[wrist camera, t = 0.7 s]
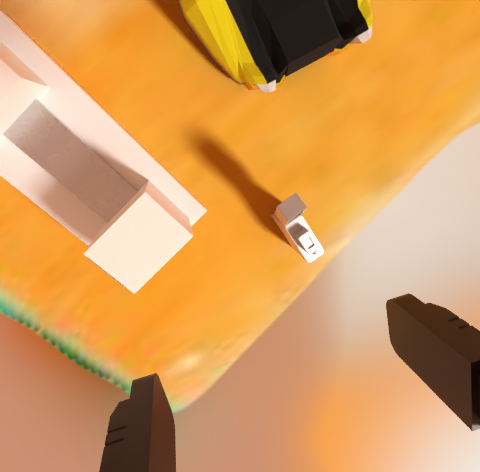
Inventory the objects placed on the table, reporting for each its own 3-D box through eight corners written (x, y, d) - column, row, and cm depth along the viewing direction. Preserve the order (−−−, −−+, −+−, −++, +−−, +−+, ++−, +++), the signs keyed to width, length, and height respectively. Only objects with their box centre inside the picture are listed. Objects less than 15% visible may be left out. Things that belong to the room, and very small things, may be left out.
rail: (-21, 45, 25) (-26, 43, 24) (180, 229, 32) (180, 231, 31) (-55, 82, 25) (-61, 81, 25) (152, 257, 32) (151, 260, 31)
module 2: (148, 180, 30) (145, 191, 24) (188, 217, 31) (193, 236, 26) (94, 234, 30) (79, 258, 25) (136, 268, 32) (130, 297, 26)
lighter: (307, 237, 35) (345, 268, 28) (292, 248, 35) (326, 281, 28) (268, 178, 33) (299, 193, 25) (253, 189, 33) (278, 208, 26)
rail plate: (6, 14, 26) (-1, 9, 25) (205, 207, 33) (207, 210, 32) (-77, 106, 27) (-88, 105, 25) (135, 277, 33) (134, 282, 32)
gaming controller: (163, -11, 27) (224, 114, 31) (163, -43, 22) (236, 112, 26) (337, -102, 28) (378, 32, 31) (376, -153, 23) (420, 13, 26)
